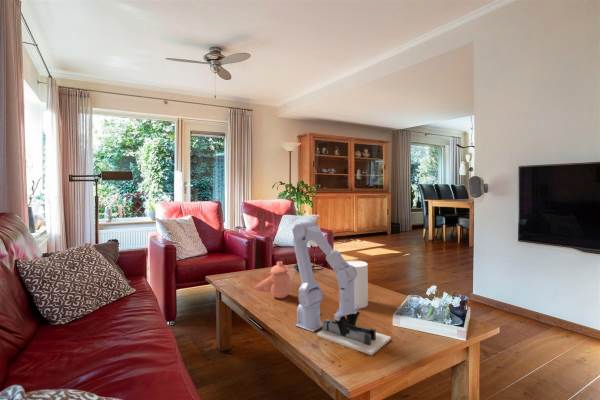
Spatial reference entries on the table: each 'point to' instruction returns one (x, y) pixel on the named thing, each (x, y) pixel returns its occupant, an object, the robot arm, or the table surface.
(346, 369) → the table surface
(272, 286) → the ceramic vessels
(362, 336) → the tongs base
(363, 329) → the tongs arm
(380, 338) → the cutting board
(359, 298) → the canister
